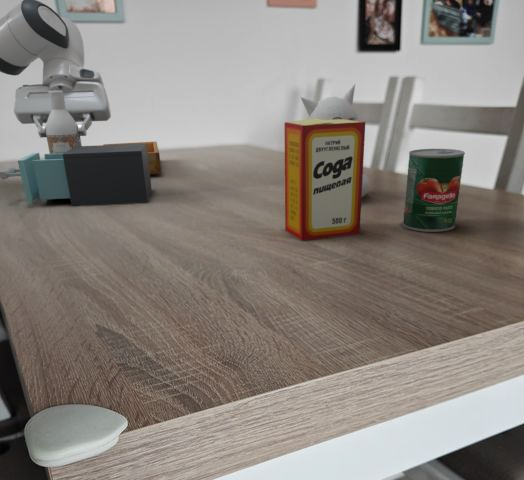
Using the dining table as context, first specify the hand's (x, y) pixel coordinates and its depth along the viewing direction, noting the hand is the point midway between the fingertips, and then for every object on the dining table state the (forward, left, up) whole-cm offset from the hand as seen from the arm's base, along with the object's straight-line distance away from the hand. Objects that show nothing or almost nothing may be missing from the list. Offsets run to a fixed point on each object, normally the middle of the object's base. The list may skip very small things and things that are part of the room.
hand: (62, 134), depth 120 cm
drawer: (-1, -13, -10) cm, 17 cm away
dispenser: (+11, -13, -11) cm, 21 cm away
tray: (+11, +26, -12) cm, 30 cm away
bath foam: (0, +1, -12) cm, 12 cm away
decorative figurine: (+54, -24, -12) cm, 60 cm away
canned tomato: (+64, -49, -12) cm, 82 cm away
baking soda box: (+47, -49, -12) cm, 69 cm away
